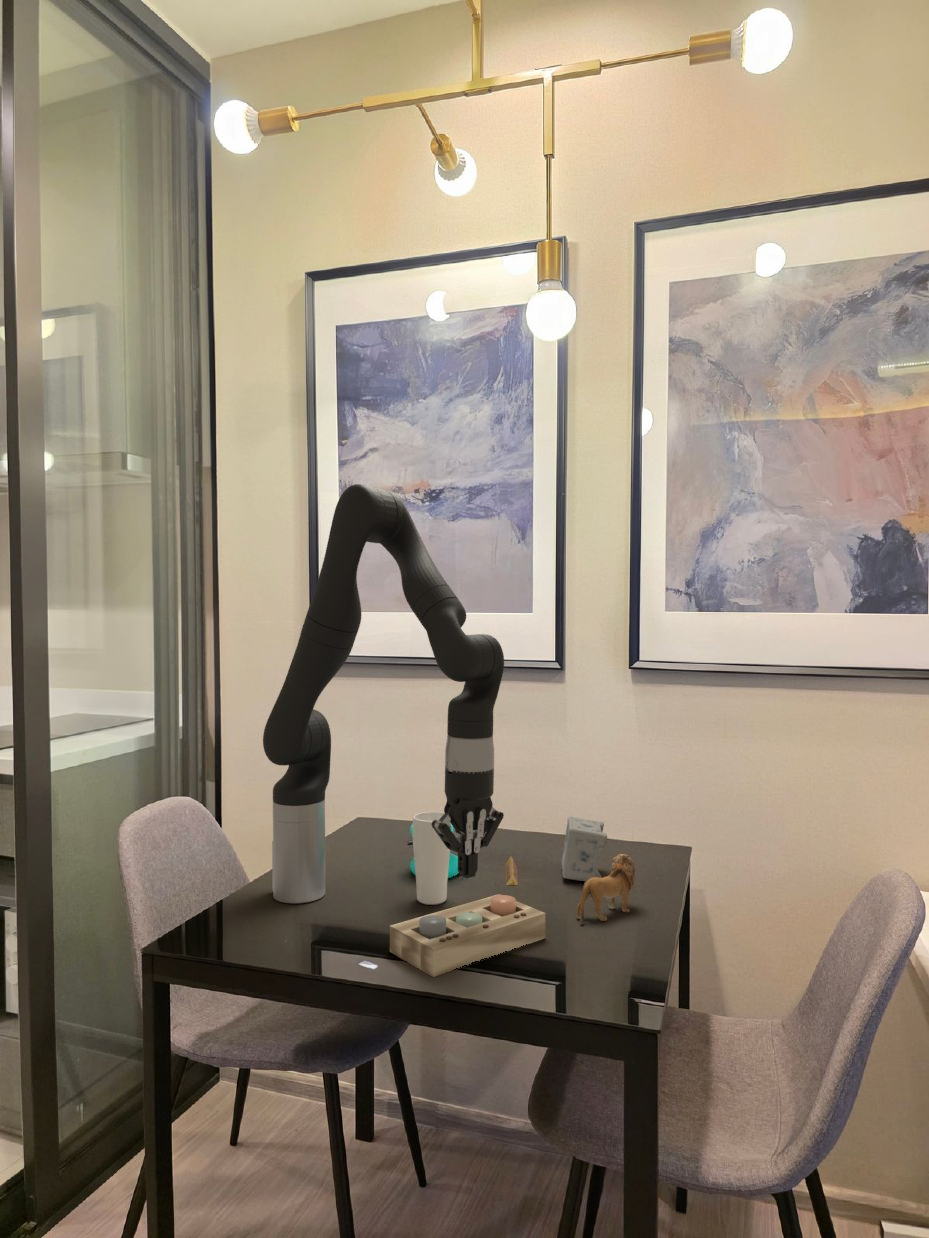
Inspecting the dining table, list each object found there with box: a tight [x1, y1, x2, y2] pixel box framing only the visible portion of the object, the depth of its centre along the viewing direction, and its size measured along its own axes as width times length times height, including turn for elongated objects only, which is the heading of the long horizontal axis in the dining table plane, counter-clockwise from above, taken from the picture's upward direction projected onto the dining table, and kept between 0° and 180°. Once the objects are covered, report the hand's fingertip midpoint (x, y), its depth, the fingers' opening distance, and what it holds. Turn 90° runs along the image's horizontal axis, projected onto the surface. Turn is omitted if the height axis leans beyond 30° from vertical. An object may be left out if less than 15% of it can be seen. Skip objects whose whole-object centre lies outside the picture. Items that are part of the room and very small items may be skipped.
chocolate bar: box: [505, 855, 519, 886], centre depth 165 cm, size 3×12×2 cm, turn 178°
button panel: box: [389, 893, 546, 978], centre depth 131 cm, size 11×22×4 cm, turn 129°
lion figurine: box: [575, 853, 636, 924], centre depth 145 cm, size 15×5×9 cm, turn 138°
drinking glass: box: [412, 811, 451, 906], centre depth 151 cm, size 7×7×15 cm
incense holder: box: [560, 816, 608, 882], centre depth 164 cm, size 10×8×10 cm
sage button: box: [456, 912, 482, 928], centre depth 131 cm, size 4×4×3 cm
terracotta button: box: [491, 894, 517, 917], centre depth 136 cm, size 4×4×3 cm
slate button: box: [419, 915, 446, 939], centre depth 127 cm, size 4×4×3 cm
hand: (467, 876), depth 131 cm, fingers closed
